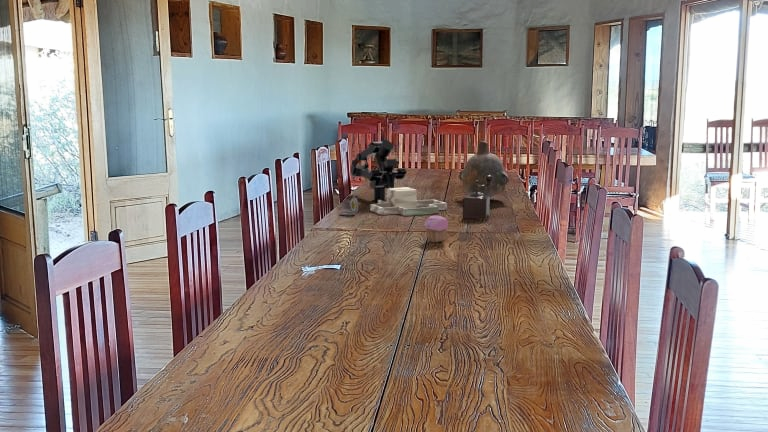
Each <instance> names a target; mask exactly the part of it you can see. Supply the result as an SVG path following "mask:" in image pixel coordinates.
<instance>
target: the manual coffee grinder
mask: <svg viewBox="0 0 768 432" xmlns="http://www.w3.org/2000/svg"><path fill="white" fill-rule="evenodd" d="M493 179H494V178H493V176H490V175H487V176H486V177H485V180H486V184H485V185H478V180H476V181H475V182H476V183H475V185H476V191H475V192H474V193H471V194H466V195H465V196H464V197H463V198H462V201H463V202H462V219H464V218H471V219H470V220H478V219H486V218H487V219H489V218H488V217H490V207H491V204H490V203H491V201H490V199H491V197H490V196H487V195H484V194H483V193H481V192H478V187H486V186H488V187H489V186H492V184H491V183H492V181H493ZM484 193H485V192H484ZM487 219H486V220H487Z"/></svg>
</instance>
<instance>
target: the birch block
mask: <svg viewBox="0 0 768 432" xmlns="http://www.w3.org/2000/svg"><path fill="white" fill-rule="evenodd" d="M417 195H418V189H415V188H412V187H408V186H407V187H404V186H403V187H394V188H390V187H389V188H386V199H387V200H386V202H388V203H390V206H389V207H399V206H400V207H403V208H406V209H410V208H417V207H416V205H417V198H418V196H417Z"/></svg>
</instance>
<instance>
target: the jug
mask: <svg viewBox="0 0 768 432" xmlns="http://www.w3.org/2000/svg"><path fill="white" fill-rule="evenodd" d="M463 168H464V169H463V170H461V171H460V172H459V176H458V177H459V180H460V181H461V182H462V189H463V191H464V192H465V193H467V194H468V195H470V194H471V193H474V192H475V191H476V185H475V183H476V182H475V181H476V180H478V185H485V184H486V180H485V177H486V176H487V175H490V176H493V178H494V179H493V181H492V183H491V184H492V186H489V187H488V186H486V187H478V192H481V193H483V194H484V195H487V196H490V198H491V197H494V196H497V195H500V194H503V193H504V192H505V190H506V186H507V185H508V184H509V182H510V177H509V175H508V174H507V173H506V171H505V167H504V165H503V162H502V160H501V158H499V157H498V156H497V155H496V154H494V153H491V151H490V149H489V142H487V141H484V140H481V141H480V142H479V143H478V145H477V151H476V153H475V154H473V155H471V156H470V157H469V159H468V160H467V161H466V163H465V166H464V167H463ZM484 192H485V193H484Z"/></svg>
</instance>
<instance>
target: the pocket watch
mask: <svg viewBox="0 0 768 432" xmlns="http://www.w3.org/2000/svg"><path fill="white" fill-rule="evenodd" d="M355 196H357V192H355V191H354V192H353V193H352V197H351V198H350V202H349V205H350V210H351V211H350V210H348V211H344V210H343V211H340V212H339V215H340V216H345V217H346V216H353V215H355V214H356V213H357V212H358V210H359V202H358V199H357V197H355Z"/></svg>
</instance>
